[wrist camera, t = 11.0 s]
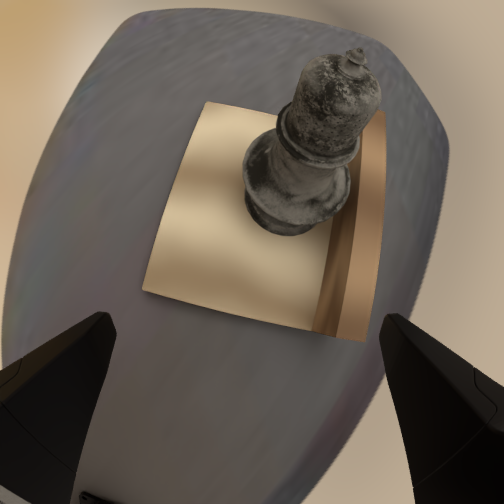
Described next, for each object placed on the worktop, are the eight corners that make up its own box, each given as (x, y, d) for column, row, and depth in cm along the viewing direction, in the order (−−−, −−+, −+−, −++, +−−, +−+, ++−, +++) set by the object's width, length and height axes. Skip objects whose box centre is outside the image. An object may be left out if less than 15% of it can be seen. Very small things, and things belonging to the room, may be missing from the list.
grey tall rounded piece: (346, 205, 18) (466, 95, 6) (281, 260, 17) (382, 167, 5) (289, 141, 19) (344, -6, 7) (220, 187, 18) (214, 22, 6)
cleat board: (329, 333, 18) (365, 342, 12) (147, 290, 17) (117, 283, 12) (356, 149, 20) (385, 112, 15) (207, 111, 20) (203, 63, 15)
